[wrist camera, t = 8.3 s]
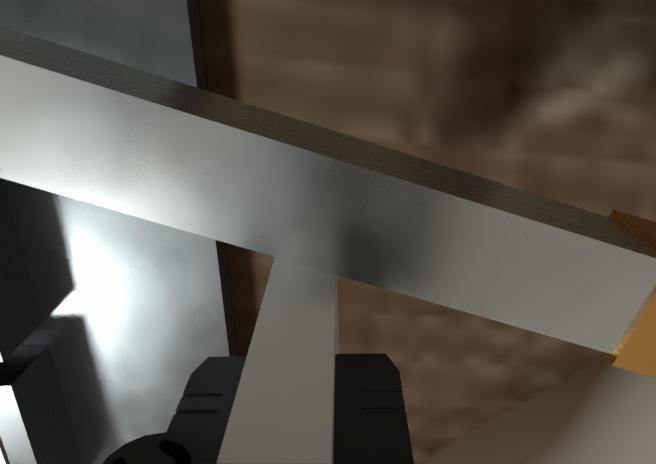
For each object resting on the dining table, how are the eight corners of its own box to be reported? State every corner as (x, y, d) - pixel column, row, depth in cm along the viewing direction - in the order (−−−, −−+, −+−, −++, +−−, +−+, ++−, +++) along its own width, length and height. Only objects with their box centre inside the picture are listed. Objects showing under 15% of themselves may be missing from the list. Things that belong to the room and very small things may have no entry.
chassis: (-254, -119, 15) (-540, -186, 10) (182, -135, 14) (100, -214, 10) (-18, 478, 24) (-109, 591, 19) (251, 480, 24) (227, 596, 19)
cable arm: (-390, 35, 11) (-654, 40, 8) (-435, -153, 10) (-768, -228, 7) (603, 326, 13) (677, 413, 10) (678, 205, 12) (788, 264, 9)
